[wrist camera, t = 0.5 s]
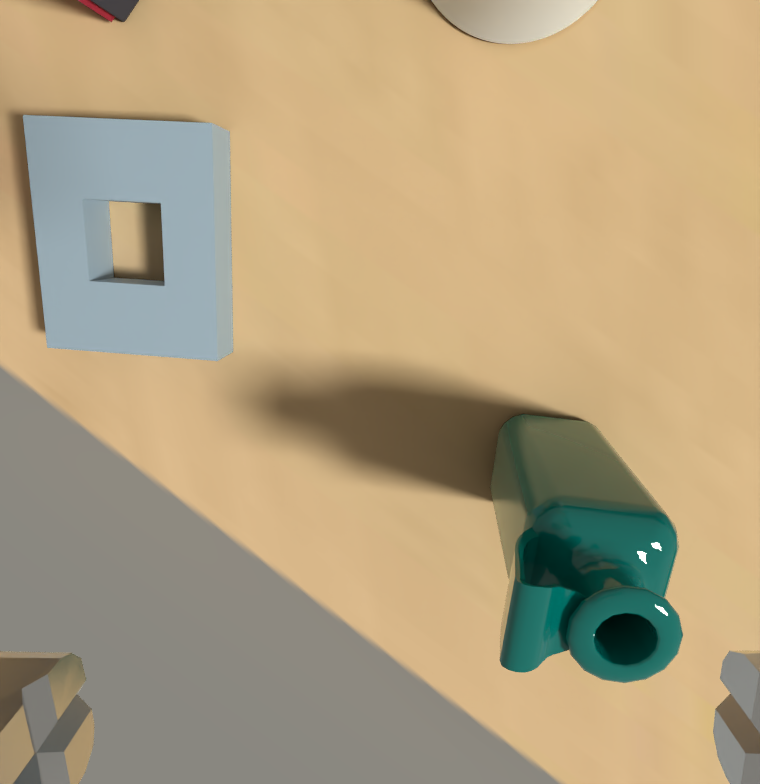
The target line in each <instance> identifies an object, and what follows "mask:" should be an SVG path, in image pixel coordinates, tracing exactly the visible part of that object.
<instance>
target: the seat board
mask: <svg viewBox="0 0 760 784" xmlns="http://www.w3.org/2000/svg"><path fill="white" fill-rule="evenodd" d="M23 123H24V132H25V142H26V151H27V161H28V170H29V180H30V189H31V199H32V208H33V217H34V227H35V236H36V246H37V255H38V265H39V274H40V284H41V293H42V303H43V312H44V321H45V331H46V340H47V348H58V349H71V350H84V351H97V352H110V353H122V354H135V355H148V356H161V357H174V358H187V359H200V360H213V361H218V360H220V359H222V358H223V357H225V356H227V355H229V354H230V353H232V352H233V312H232V248H231V183H230V131H227V130H225V129H223V128H221V127H219V126H217V125H215V124H213V123H198V122H175V121H152V120H129V119H106V118H83V117H59V116H36V115H23ZM109 201H116V202H134V203H152V204H161V218H162V239H163V260H164V281H158V280H143V279H128V278H114V269H113V255H112V241H111V227H110V213H109Z"/></svg>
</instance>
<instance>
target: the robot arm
mask: <svg viewBox="0 0 760 784" xmlns="http://www.w3.org/2000/svg"><path fill="white" fill-rule="evenodd" d="M431 1H432V2H433V4H434V5H435V6H436V7H437V9H438V10H439V11H440V12H441V13H442V14H443V15H444V16H445V17H446V18H447V19H448V20H449V21H450V22H451V23H452V24H454V25H455V26H456V27H458V28H459V29H461V30H463V31H464V32H466V33H468V34H470V35H472V36H474V37H477V38H479V39H482V40H486V41H490V42H495V43H503V44H518V43H526V42H532V41H536V40H539V39H542V38H545V37H548V36H550V35H553V34H555V33H557V32H559V31H561V30H563V29H564V28H566V27H568V26H569V25H571V24H572V23H574V22H575V21H576V20H578V19H579V18H580V17H581V16H582V15H584V14H585V13H586V12H587V11H588V10H589V9H590V8H591V7H592V6H593V5H594V4H595V3H596V2H597V0H431ZM720 679H721V681H722V682H723V683H724V685H725V686H726V688H727V689H728V691H729V692H730V695H729V696H728V697H727V698H726V699H725V700H724V701H723V702H722V703H721V704H720V705H719V706H718V707H717V708H716V709H715V719H714V729H713V733H714V739H715V744H716V749H717V754H718V758H719V761H720V763H721V766H722V768H723V771H724V773H725V775H726V778H727V779H728V781H729V783H730V784H760V651H729V653H728V654H727V656H726V657H725V659H724V660H723V664H722V670H721V676H720ZM85 681H86V677H85V673H84V669H83V665H82V661H81V658H80V657H78V656H76V655H74V654H72V653H50V652H1V651H0V784H79V782H80V780H81V778H82V777H83V775H84V773H85V771H86V768H87V764H88V761H89V758H90V755H91V751H92V748H93V741H94V720H93V715H92V709H91V708H90V707H89V706H88V705H87V704H86V703H85V702H84V701H83V700H82V699H81V698H80V697H79V696H78V695H77V694H78V692H79V690H80V689H81V687H82V686H83V684H84V682H85Z"/></svg>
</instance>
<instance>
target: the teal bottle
mask: <svg viewBox="0 0 760 784" xmlns="http://www.w3.org/2000/svg"><path fill="white" fill-rule="evenodd" d="M490 489H491V494H492V499H493V504H494V509H495V514H496V519H497V524H498V529H499V534H500V539H501V544H502V549H503V554H504V559H505V564H506V569H507V573H508V578H509V583H508V589H507V594H506V600H505V605H504V611H503V617H502V622H501V636H500V662H501V665H502V666H503V667H505V668H506V669H508V670H511V671H515V672H529V671H532V670H534V669H535V668H537V667H538V666H539V665H540V664H541V663H542V662H543V661H544V660H545V659H546V658H547V657H549V656H551V655H553V654H557V653H560V652H563V651H567V650H569V651H570V654H571V656H572V657H573V658H574V659H575V660H576V661H577V663H578V664H579V665H580V666H581V667H582V668H583V670H584V671H586V672H588V673H590V674H592V675H594V676H596V677H598V678H600V679H602V680H607V681H614V682H621V683H627V682H633V681H639V680H645V679H647V678H649V677H651V676H653V675H655V674H657V673H658V672H660V671H662V670H664V669H665V668H666V667H667V666H668V665H669V664H670V662H671V661H672V660H673V659H674V658H675V657H676V655H677V654H678V651H679V648H680V644H681V641H682V637H683V632H682V627H681V623H680V618H679V615H678V613H677V612H676V611H675V610H674V608H673V607H672V606H671V605H670V603H669V602H668V601H667V600H666V599H665V596H666V593H667V589H668V585H669V581H670V578H671V574H672V570H673V567H674V563H675V559H676V555H677V552H678V548H679V541H678V536H677V531H676V527H675V525H674V523H673V522H672V520H671V519H670V518H669V516H668V515H667V514H666V513H665V511H664V510H663V509H662V508H661V506H660V505H659V504H658V503H657V501H656V500H655V499H654V498H653V496H652V495H651V494H650V493H649V492H648V490H647V489H646V488H645V487H644V485H643V484H642V483H641V482H640V480H639V479H638V478H637V477H636V475H635V474H634V473H633V472H632V471H631V469H630V468H629V467H628V466H627V464H626V463H625V462H624V461H623V459H622V458H621V457H620V456H619V454H618V453H617V452H616V451H615V449H614V448H613V447H612V446H611V445H610V443H609V442H608V441H607V440H606V438H605V437H604V436H603V435H602V433H601V432H600V431H599V430H598V428H597V427H596V426H594V425H592V424H590V423H589V422H586V421H578V420H569V419H561V418H552V417H544V416H536V415H527V414H522V415H518V416H514V417H512V418H511V419H510V420H508V421H507V422H505V423H504V425H503V426H502V428H501V429H500V431H499V436H498V442H497V448H496V454H495V461H494V467H493V473H492V479H491V486H490Z"/></svg>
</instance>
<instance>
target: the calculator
mask: <svg viewBox="0 0 760 784" xmlns="http://www.w3.org/2000/svg"><path fill="white" fill-rule="evenodd" d="M77 1H79V2H81V3H82V4H84V5H85V6H87V7H88V8H90V9H91V10H93V11H95V12H96V13H98V14H99V15H101V16H102V17H104V18H105V19H107V20H109V21H110V22H112V21H113V19H114V18H115V17H116V18H118V19H119V20H121V21H122V22H125V20H126V19H127V18H128V16H129V15H130V13H131V12H132V10H133V9H134V7H135V6H136V4H137V2H138V1H139V0H77Z"/></svg>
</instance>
